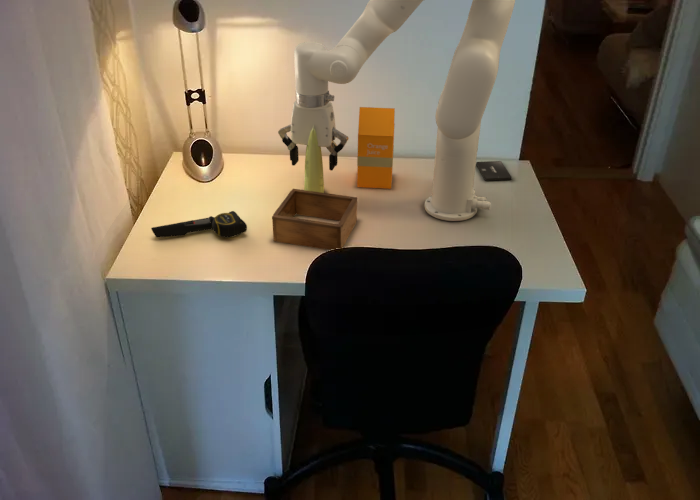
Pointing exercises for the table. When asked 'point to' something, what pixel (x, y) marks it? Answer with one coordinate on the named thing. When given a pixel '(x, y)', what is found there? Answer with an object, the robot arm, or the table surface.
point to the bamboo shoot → (313, 165)
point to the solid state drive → (493, 170)
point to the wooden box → (315, 231)
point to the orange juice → (375, 147)
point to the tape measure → (228, 224)
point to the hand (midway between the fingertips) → (313, 165)
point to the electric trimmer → (183, 227)
